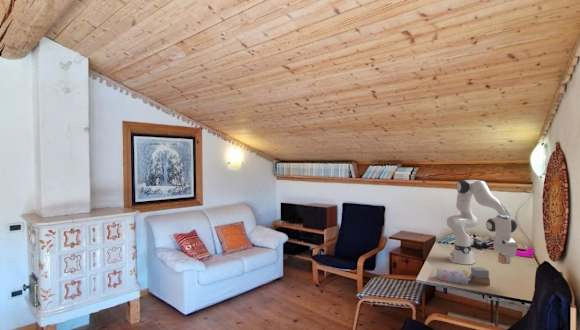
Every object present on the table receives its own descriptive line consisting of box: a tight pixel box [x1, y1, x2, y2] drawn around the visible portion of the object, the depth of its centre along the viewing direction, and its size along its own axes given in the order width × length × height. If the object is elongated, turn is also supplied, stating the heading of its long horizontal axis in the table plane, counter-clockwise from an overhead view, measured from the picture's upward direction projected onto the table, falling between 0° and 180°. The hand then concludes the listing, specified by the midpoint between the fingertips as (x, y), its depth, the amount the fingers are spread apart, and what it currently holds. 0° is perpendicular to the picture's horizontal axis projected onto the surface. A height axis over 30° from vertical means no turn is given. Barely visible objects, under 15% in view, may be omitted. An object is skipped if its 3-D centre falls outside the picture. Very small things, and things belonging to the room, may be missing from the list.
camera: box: [472, 237, 488, 251], centre depth 323 cm, size 15×11×10 cm
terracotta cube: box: [497, 253, 511, 265], centre depth 223 cm, size 5×5×5 cm
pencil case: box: [436, 267, 470, 286], centre depth 234 cm, size 21×9×10 cm, turn 60°
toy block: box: [515, 246, 534, 258], centre depth 297 cm, size 15×6×8 cm, turn 58°
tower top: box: [470, 266, 490, 278], centre depth 231 cm, size 8×8×5 cm
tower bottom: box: [469, 273, 491, 286], centre depth 231 cm, size 9×9×5 cm
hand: (504, 260), depth 223 cm, fingers closed on terracotta cube, 5 cm apart
